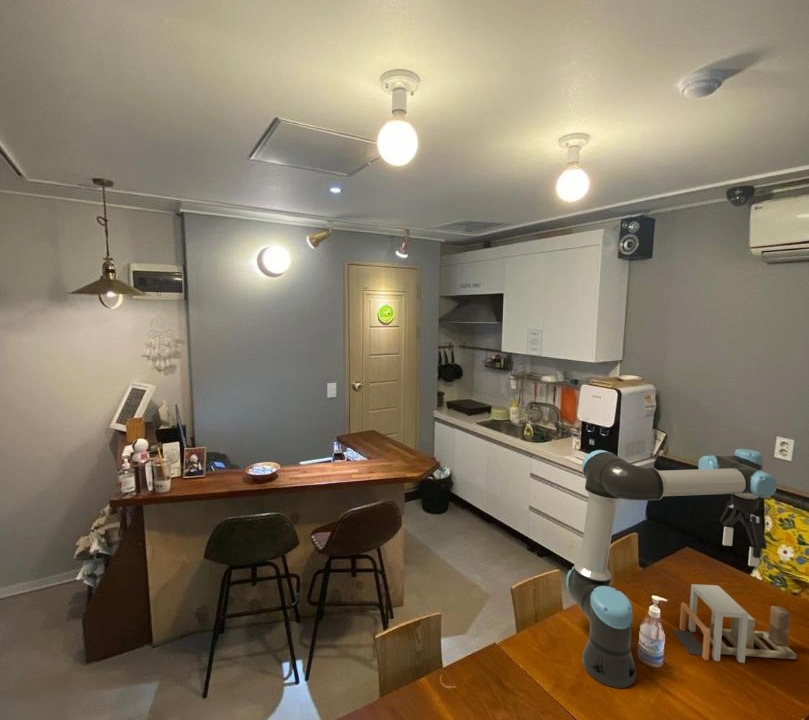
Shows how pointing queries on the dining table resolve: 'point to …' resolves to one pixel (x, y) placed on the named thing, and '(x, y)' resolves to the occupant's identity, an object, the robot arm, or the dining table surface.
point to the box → (749, 631)
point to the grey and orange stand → (715, 618)
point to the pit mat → (689, 642)
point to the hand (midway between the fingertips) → (739, 554)
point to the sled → (774, 637)
